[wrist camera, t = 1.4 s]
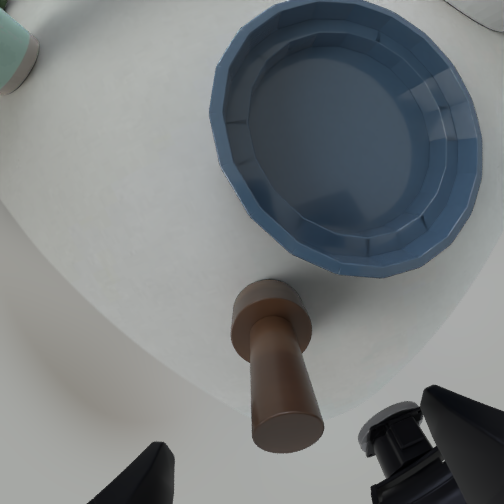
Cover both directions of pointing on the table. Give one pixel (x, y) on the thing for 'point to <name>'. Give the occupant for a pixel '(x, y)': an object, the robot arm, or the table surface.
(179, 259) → the table surface
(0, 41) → the coffee cup
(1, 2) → the character mug
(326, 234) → the bowl
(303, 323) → the muddler
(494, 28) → the white wheel
